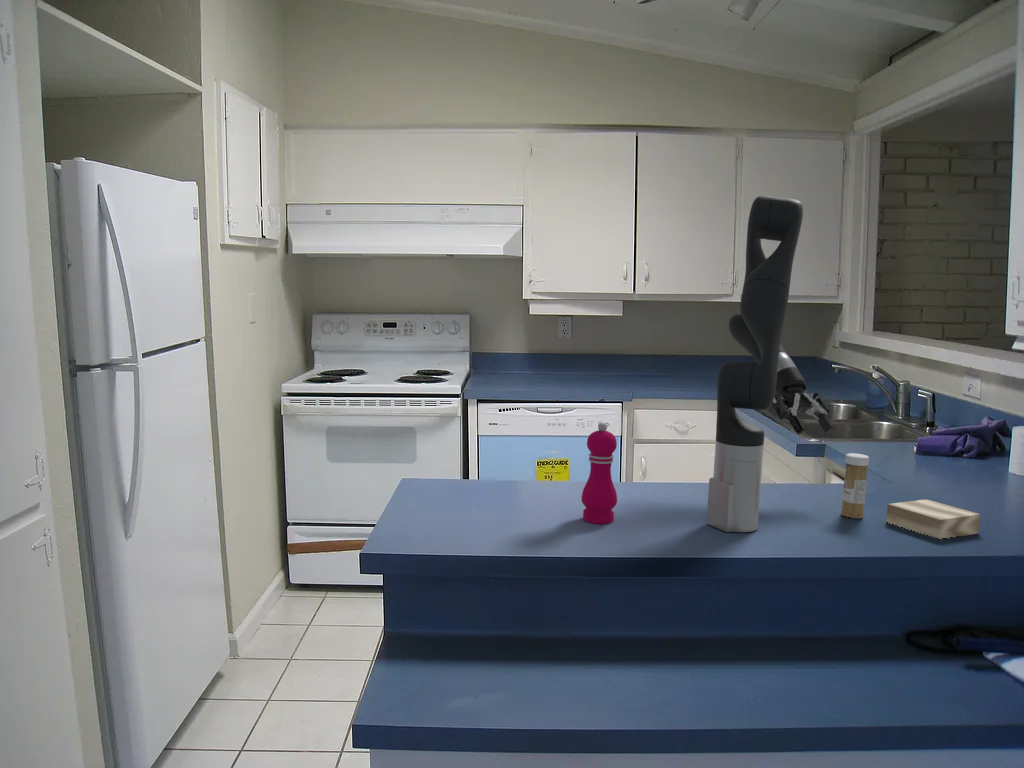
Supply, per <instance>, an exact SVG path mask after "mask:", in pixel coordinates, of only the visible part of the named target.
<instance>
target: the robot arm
mask: <svg viewBox="0 0 1024 768" xmlns="http://www.w3.org/2000/svg"><path fill="white" fill-rule="evenodd" d="M803 217H804V208H803V204H802V201H799V200H797V199H793V198H786V197H779V196H778V197H777V196H770V195H769V196H767V195H759V196H756V198H755V199H754V200H753V202H752V205H751V207H750V211H749V216H748V222H747V229H746V230H747V231H746V248H745V274H744V281H743V286H742V292H741V297H740V304H739V310H740V312H738V313H736V314H733V315H732V316H731V317H730V319H729V321H728V329H729V333H730V334H731V336H732V338H733V339H734V340H735V342H737V343H738V344H739V345H740V346H741V347H742V348H743V349H744V350H746V351H747V352H748V353H749V354H750V355H751V356H752V358H754V360H755V362H751V361H750V362H747V361H734V360H731V361H729V360H727V361H726V360H725V362H723V363H722V364H721V366H720V367H719V370H718V373H717V381H716V382H717V383H716V384H717V385H716V386H717V387H716V388H717V389H716V403H717V405H716V430H715V432H716V433H715V448H714V459H713V460H714V463H713V474H712V476H713V477H710V478H709V479H708V492H707V493H708V495H707V506H706V507H707V508H706V524H707V525H709V526H711V527H714V528H716V529H718V530H721V531H723V532H726V533H729V532H734V533H750V532H755V531H756V530H758V529H759V515H760V501H761V488H762V486H761V485H762V473H763V461H764V460H763V459H764V448H765V447H764V446H765V445H764V443H765V432H764V430H763V429H762V428H761V427H759V426H757V425H755V424H752V423H750V422H749V421H746V420H745V419H744V418H742V417H741V416H740V415H739V414H738V412H737V411H736V409H741V410H742V409H745V410H746V409H747V410H754V411H755V410H757V411H765V410H769V408H770V407H771V406H772V408H773V410H774V411H775V414H776V415H777V417H778V419H779V420H781V421H783V420H786V422H788V423H789V424H790V425H791V427H792V429H793V430H794V432H795V433H796V435H802V434H803V433H804V432H805V431H806V427H805V425H804V424H803V422H802V421H801V418H800V417H799V416H798V415H797V413H805V414H806V415H808V416H813V417H814V418H815V419H817V422H818V423H819V425H820V427H821V429H822V430H823V432H824V433H827V434H828V433H830V432H831V431H832V430H834V425H833V423H832V422H831V420H830V419H829V417H828V414H830V413H831V412H832V409H831V407H830V406H829V404H828V402H826V400H825V398H824V397H823V396H822V395H821V393H820V392H819V391H818V390H817V391H815V392H814V393H810V392H809V391H808V390H807V388H806V386H807V383H806V380H805V379H804V377H803V375H802V373H800V371H799V369H798V368H797V366H796V365H795V363H794V361H793V359H791V357H790V356H789V355H788V354H787V352H786V351H785V349H784V347H783V346H782V344H781V341H782V340H781V339H782V334H783V328H784V324H785V317H786V314H787V308H788V303H789V302H788V301H789V295H790V288H791V278H792V271H793V264H794V259H795V254H796V249H797V245H798V241H799V237H800V232H801V227H802V224H803V223H802V222H803ZM761 240H768V241H776V242H780V243H779V244H778V246H777V247H776V249H775V250H774V251H773V252H772V253H771V255H770V256H768V257H766V255H765V253H764V250H763V247H762V242H761ZM812 406H813V407H812ZM811 407H812V408H811ZM817 412H818V413H817Z"/></svg>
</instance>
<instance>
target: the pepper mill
mask: <svg viewBox="0 0 1024 768" xmlns="http://www.w3.org/2000/svg"><path fill="white" fill-rule="evenodd" d="M597 428H598V430H596V431H595V430H594V431H593V432H591V433H590V434H589V436H588V437H587V440H586V446H587V449H588V450H589V452H590V453H589V454H588V456H589V458H588V461H589V463H590V471H589V475H588V479H587V481H586V483H585V485H584V487H583V489H582V493H581V498H580V499H581V503H582V505H583V506H584V507H585V509H583V511H582V513H583V514H582V519H583V521H584V522H586V523H589V524H595V525H608V524H611V523H613V522H614V521H615V511H613V509H614V508H615V507H616V505H617V504H618V495H617V491H616V488H615V485H614V482H613V480H612V479H613V478H612V474H611V473H612V472H611V471H612V470H611V468H612V463H614V457H615V456H614V455H613V453H614V452H615V451H616V449H617V447H618V444H617V443H618V441H617V438H616V436H615V435H614V434H613V433H612V432H611V431H608V430H607V428H608V425H607V424H606V423H604V422H601V423H599V424H598V426H597Z"/></svg>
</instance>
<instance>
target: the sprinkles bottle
mask: <svg viewBox="0 0 1024 768" xmlns="http://www.w3.org/2000/svg"><path fill="white" fill-rule="evenodd" d="M844 460H845V461H844V463H845V471H844V473H845V474H844V479H843V480H844V482H843V491H842V505H841V511H840V515H841V514H842V515H841V516H843V517H845V516H846V517H845V518H848V517H850V518H849V519H862V518H864V517H865V515H864V508H865V503H866V493H867V491H866V490H867V480H868V479H867V475H868V466H869V463H870V461H869V460H870V457H869V455H866V454H862V453H857V452H856V453H854V452H853V453H852V452H850V453H846V455H845V459H844Z"/></svg>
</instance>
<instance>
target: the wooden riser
mask: <svg viewBox="0 0 1024 768" xmlns="http://www.w3.org/2000/svg"><path fill="white" fill-rule="evenodd" d="M885 521H886V522H888V523H887V524H889V523H890V524H889V525H892V524H894V525H893V526H895V525H897V526H896V527H898V526H899V528H901V527H903V528H902V529H904V528H905V529H904V530H907V529H908V531H910V530H912V531H911V532H913V531H915V532H914V533H917V532H918V533H917V534H920V533H921V535H923V534H925V535H924V536H926V535H928V536H927V537H929V536H932V537H935V538H938V539H940V540H943V539H942V538H947V539H951V538H950V537H953V538H957V536H959V537H964V536H970V535H971V536H972V535H977V534H979V531H980V530H979V529H980V522H981V513H978V512H974V511H970V510H966V509H963V508H959V507H956V506H952V505H949V504H945V503H942V502H937V501H934V500H930V499H927V498H926V499H918V500H908V501H902V502H895V503H894V502H893V503H892V502H891V503H887V506H886V520H885ZM886 522H885V523H886ZM932 537H931V538H932ZM935 538H934V539H935ZM938 539H937V540H938Z"/></svg>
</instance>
